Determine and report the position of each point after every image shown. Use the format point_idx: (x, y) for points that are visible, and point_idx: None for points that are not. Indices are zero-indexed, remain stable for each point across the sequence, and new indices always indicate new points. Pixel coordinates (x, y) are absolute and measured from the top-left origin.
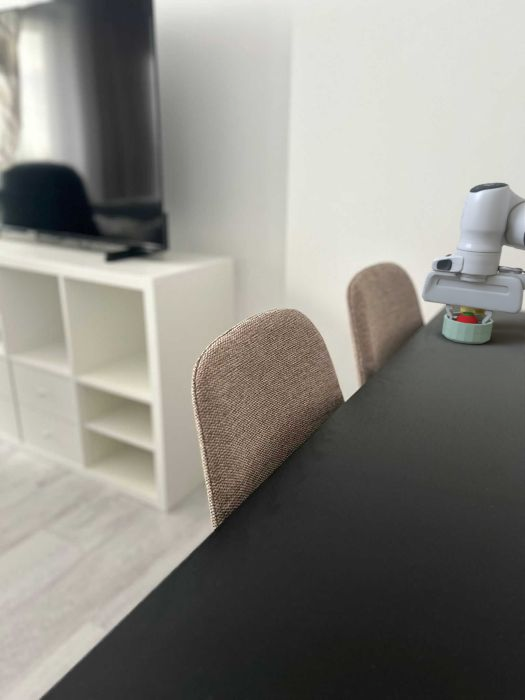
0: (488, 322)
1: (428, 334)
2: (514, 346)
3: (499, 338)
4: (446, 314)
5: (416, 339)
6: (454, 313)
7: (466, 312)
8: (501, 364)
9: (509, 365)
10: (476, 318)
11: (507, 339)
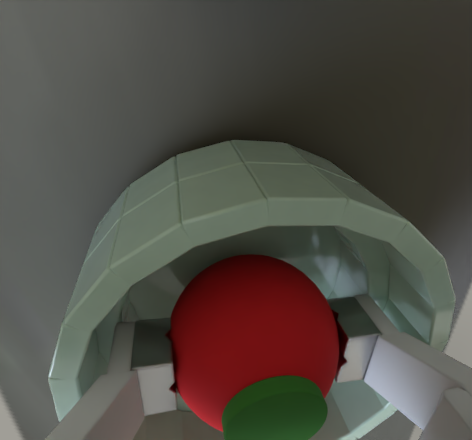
0: (411, 283)
1: (25, 331)
2: (464, 256)
3: (425, 161)
4: (62, 395)
5: (24, 423)
6: (110, 307)
7: (257, 422)
8: (369, 437)
9: (390, 431)
10: (333, 378)
11: (467, 154)
